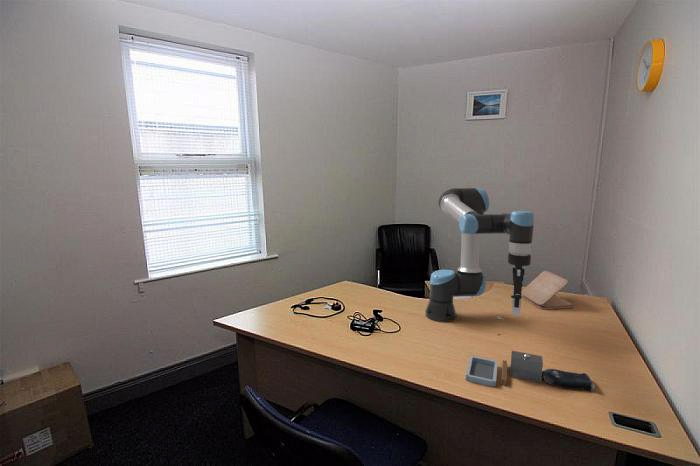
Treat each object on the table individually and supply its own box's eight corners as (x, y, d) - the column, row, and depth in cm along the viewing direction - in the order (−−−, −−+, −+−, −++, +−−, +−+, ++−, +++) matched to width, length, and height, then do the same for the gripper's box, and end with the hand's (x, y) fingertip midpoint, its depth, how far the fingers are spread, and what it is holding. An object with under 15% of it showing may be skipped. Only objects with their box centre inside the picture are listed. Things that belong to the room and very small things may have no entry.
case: (518, 296, 212) (520, 270, 209) (551, 295, 214) (554, 269, 211) (540, 310, 192) (543, 282, 189) (576, 309, 194) (580, 280, 191)
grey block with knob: (509, 377, 132) (511, 355, 130) (510, 370, 136) (511, 349, 134) (540, 383, 128) (543, 361, 126) (539, 376, 132) (542, 354, 130)
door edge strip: (501, 384, 127) (501, 379, 126) (502, 364, 139) (502, 360, 139) (505, 385, 126) (506, 380, 126) (506, 365, 139) (507, 360, 138)
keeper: (465, 380, 129) (465, 375, 129) (470, 360, 143) (470, 355, 142) (495, 387, 125) (495, 382, 125) (497, 365, 139) (497, 361, 138)
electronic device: (582, 381, 132) (538, 370, 135) (587, 368, 130) (542, 358, 133) (591, 399, 123) (543, 387, 126) (596, 387, 121) (548, 375, 125)
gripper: (532, 261, 119) (527, 322, 122) (529, 248, 142) (526, 300, 145) (507, 259, 122) (503, 319, 125) (509, 246, 145) (505, 297, 148)
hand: (515, 309), depth 135 cm, fingers open, 13 cm apart
